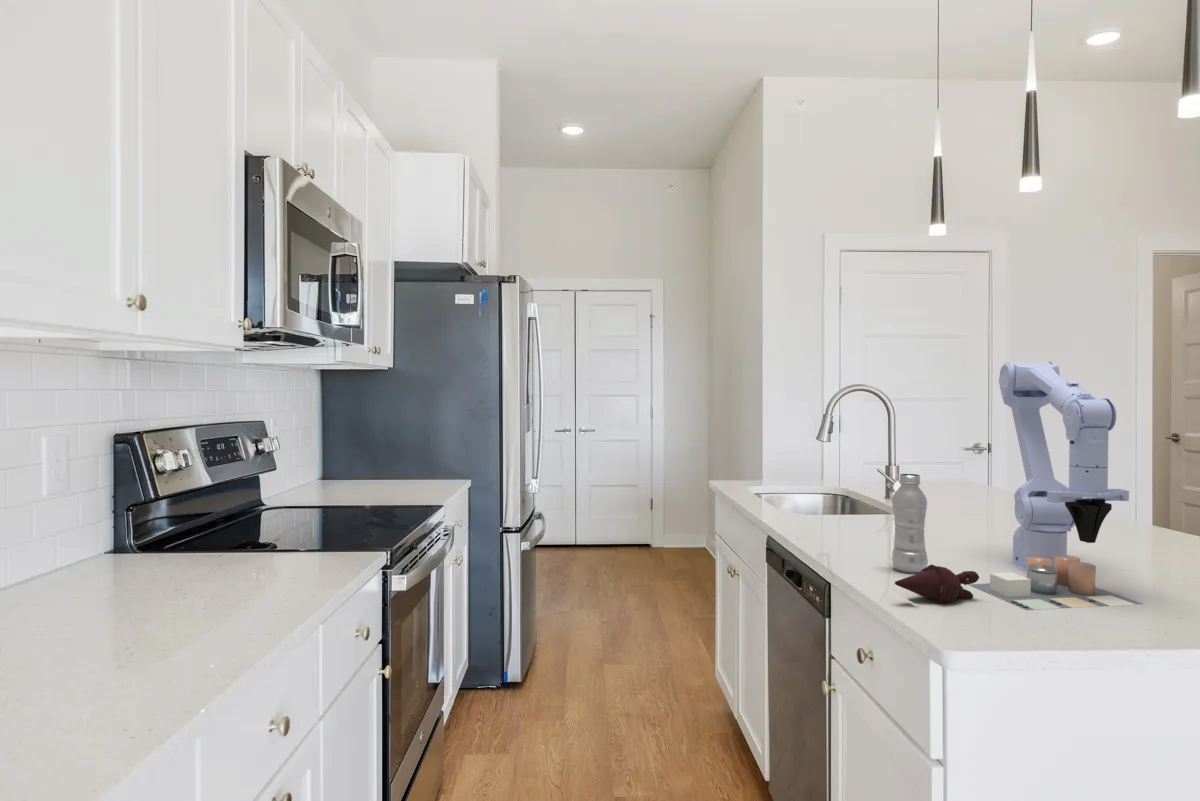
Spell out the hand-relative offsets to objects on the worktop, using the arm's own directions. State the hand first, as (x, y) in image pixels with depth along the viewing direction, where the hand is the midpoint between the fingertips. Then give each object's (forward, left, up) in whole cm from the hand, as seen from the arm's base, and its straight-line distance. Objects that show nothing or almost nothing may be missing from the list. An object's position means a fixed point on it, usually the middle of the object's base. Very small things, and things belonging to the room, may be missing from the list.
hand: (1087, 541), depth 126 cm
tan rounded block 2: (-6, +1, -9) cm, 11 cm away
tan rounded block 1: (-6, -4, -9) cm, 12 cm away
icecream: (-1, -29, -10) cm, 31 cm away
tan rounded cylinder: (-1, 0, -9) cm, 9 cm away
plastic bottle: (-19, -22, -10) cm, 31 cm away
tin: (-2, -7, -9) cm, 12 cm away
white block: (-2, -13, -9) cm, 16 cm away
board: (-1, -6, -10) cm, 12 cm away
